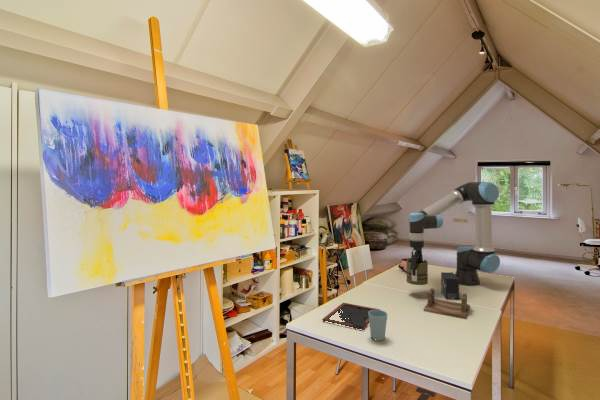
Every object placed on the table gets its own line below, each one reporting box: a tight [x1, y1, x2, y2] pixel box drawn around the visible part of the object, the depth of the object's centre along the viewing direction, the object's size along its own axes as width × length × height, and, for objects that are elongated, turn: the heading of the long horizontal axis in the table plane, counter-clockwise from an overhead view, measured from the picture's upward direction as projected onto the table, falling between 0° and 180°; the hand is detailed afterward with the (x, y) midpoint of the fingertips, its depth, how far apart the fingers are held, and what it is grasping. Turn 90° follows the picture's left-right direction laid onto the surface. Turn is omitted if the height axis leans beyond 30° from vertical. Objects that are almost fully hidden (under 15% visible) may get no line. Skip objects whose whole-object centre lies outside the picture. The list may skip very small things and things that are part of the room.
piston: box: [406, 258, 429, 286], centre depth 185 cm, size 11×12×11 cm
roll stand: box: [423, 287, 471, 320], centre depth 166 cm, size 18×19×8 cm
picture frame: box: [321, 302, 381, 331], centre depth 158 cm, size 20×2×25 cm
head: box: [397, 257, 424, 273], centre depth 235 cm, size 12×13×20 cm
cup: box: [368, 309, 388, 341], centre depth 135 cm, size 8×8×10 cm
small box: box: [440, 272, 460, 301], centre depth 185 cm, size 13×7×12 cm, turn 168°
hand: (417, 278), depth 185 cm, fingers closed on piston, 11 cm apart
